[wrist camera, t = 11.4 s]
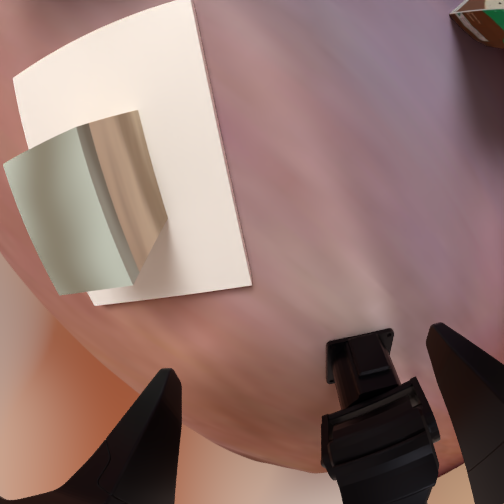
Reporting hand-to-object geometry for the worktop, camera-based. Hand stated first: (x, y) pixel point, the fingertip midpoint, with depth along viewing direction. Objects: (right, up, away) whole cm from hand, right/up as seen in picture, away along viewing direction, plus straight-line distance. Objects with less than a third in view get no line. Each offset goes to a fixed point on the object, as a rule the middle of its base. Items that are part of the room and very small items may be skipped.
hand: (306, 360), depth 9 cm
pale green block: (-10, +8, +7) cm, 15 cm away
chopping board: (-10, +9, +9) cm, 16 cm away
